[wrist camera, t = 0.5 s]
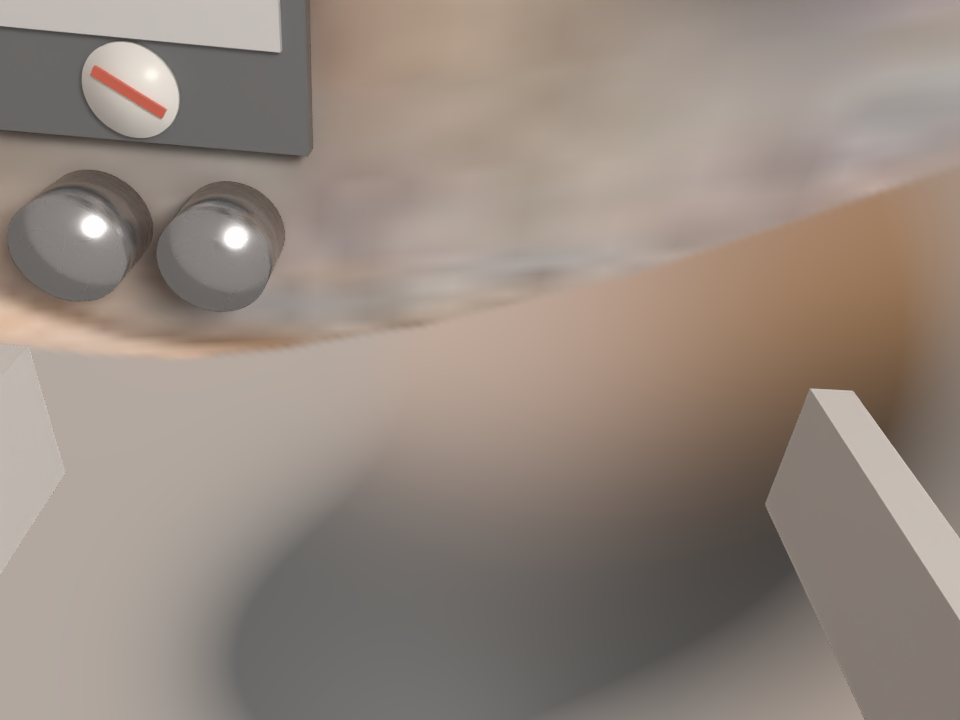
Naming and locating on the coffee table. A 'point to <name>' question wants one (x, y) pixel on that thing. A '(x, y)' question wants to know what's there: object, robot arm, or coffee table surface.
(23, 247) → the cylinder
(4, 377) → the robot arm
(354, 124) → the coffee table surface
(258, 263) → the cylinder
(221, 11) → the dial scale
